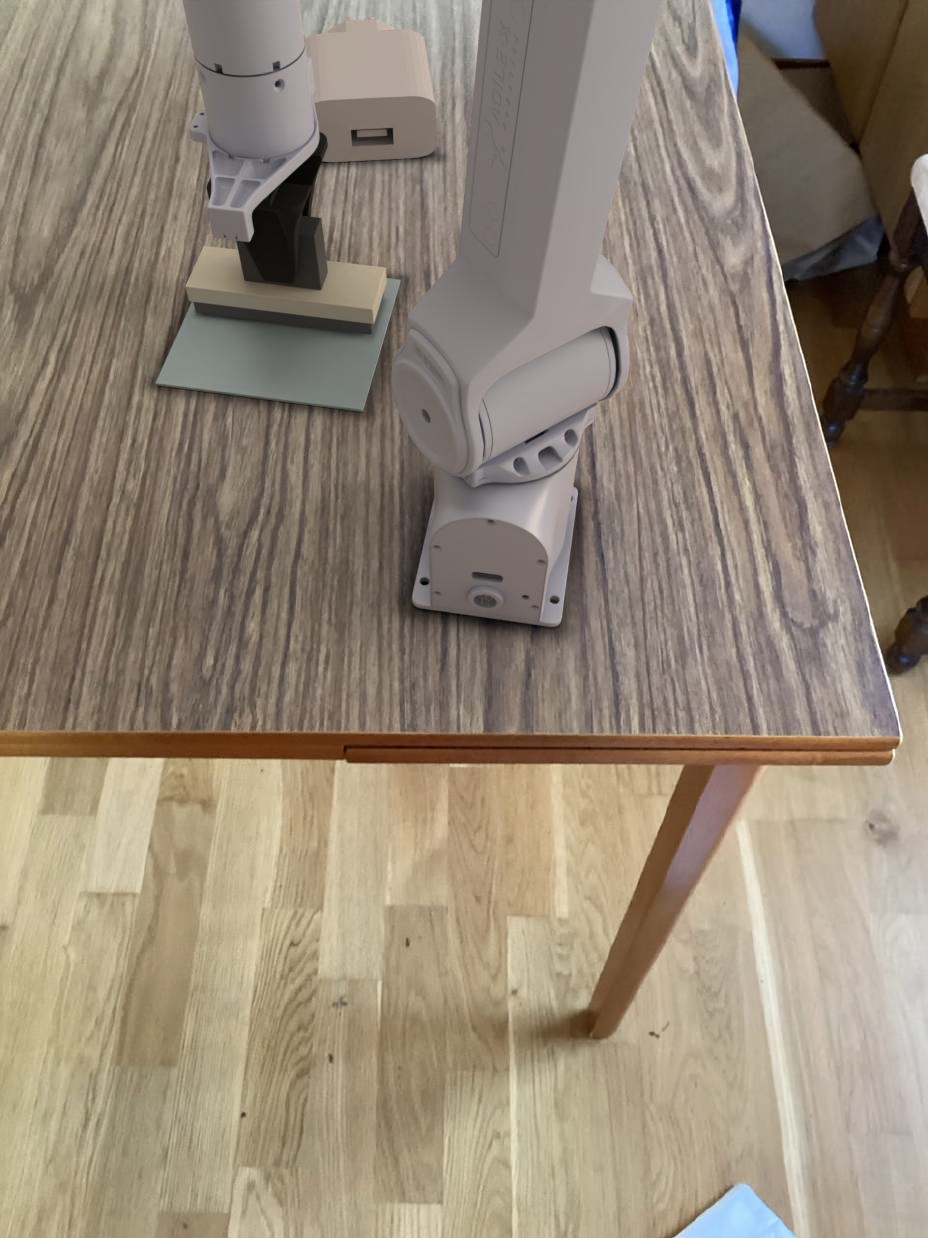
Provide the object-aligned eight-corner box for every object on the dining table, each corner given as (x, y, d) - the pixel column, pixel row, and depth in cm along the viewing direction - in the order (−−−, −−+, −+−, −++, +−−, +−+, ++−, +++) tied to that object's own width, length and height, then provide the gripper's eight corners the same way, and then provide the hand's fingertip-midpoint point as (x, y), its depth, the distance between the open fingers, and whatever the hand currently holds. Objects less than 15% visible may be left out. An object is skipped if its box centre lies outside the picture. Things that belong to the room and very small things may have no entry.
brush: (374, 336, 65) (368, 255, 60) (192, 313, 66) (170, 231, 61) (387, 294, 67) (382, 212, 62) (210, 273, 68) (190, 190, 63)
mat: (362, 412, 62) (362, 409, 62) (156, 385, 63) (155, 382, 63) (400, 281, 68) (400, 279, 68) (212, 259, 69) (211, 256, 69)
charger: (418, 46, 84) (436, 157, 76) (305, 52, 83) (311, 163, 75) (417, -15, 80) (435, 95, 72) (298, -10, 79) (303, 101, 71)
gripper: (214, -32, 57) (253, 187, 68) (126, 118, 49) (187, 337, 60) (339, -20, 56) (357, 199, 68) (270, 134, 48) (304, 352, 60)
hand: (284, 265), depth 64 cm, fingers closed on brush, 2 cm apart
